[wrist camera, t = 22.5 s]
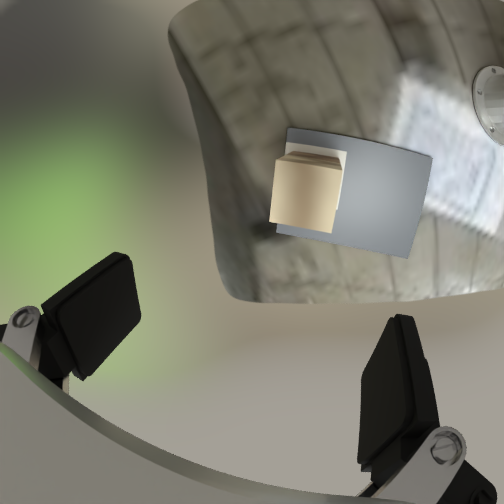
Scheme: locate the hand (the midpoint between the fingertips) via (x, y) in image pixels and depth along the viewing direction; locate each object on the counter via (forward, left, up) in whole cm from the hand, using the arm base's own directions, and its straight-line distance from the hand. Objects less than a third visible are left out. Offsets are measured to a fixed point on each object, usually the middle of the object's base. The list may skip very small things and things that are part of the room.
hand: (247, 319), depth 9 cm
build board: (-6, +2, -30) cm, 31 cm away
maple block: (0, 0, -24) cm, 24 cm away
